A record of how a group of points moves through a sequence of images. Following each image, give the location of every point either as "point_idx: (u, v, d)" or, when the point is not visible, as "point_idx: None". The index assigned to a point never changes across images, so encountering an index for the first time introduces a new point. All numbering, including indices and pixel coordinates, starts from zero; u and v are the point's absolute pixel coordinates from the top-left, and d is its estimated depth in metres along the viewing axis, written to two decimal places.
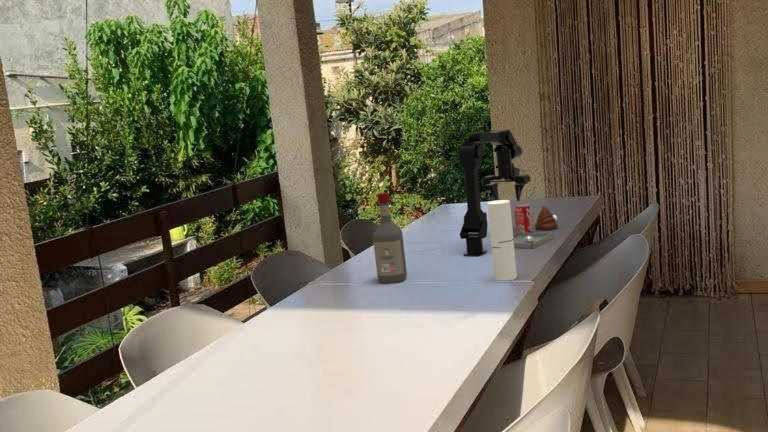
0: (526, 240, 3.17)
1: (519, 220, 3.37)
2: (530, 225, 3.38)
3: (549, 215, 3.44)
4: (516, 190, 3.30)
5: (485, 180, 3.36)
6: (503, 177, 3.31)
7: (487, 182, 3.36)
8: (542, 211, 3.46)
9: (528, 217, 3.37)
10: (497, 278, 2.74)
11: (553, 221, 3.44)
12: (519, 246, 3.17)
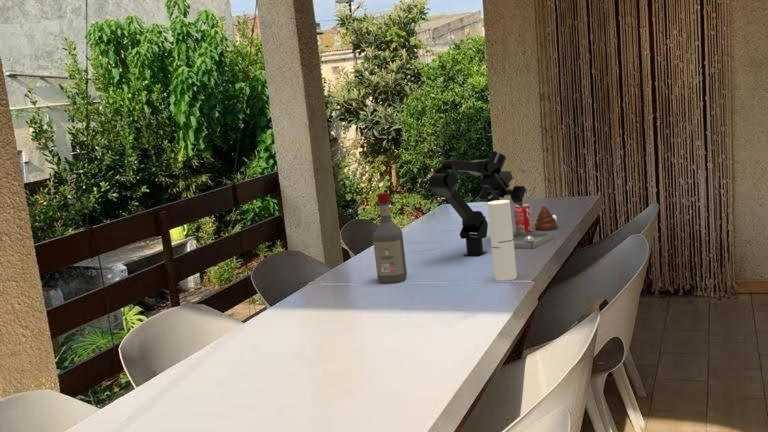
0: (526, 240, 3.17)
1: (519, 220, 3.37)
2: (530, 225, 3.38)
3: (549, 215, 3.44)
4: (516, 203, 3.26)
5: (483, 198, 3.32)
6: (499, 197, 3.26)
7: (485, 200, 3.31)
8: (542, 211, 3.46)
9: (528, 217, 3.37)
10: (497, 278, 2.74)
11: (553, 221, 3.44)
12: (519, 246, 3.17)
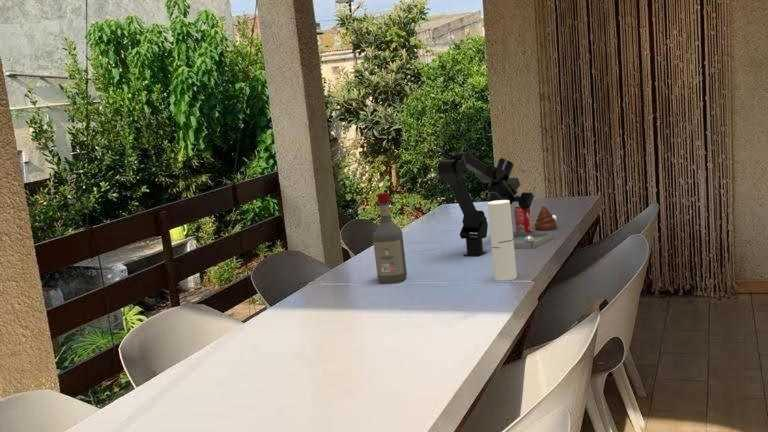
0: (526, 240, 3.17)
1: (519, 220, 3.37)
2: (530, 225, 3.38)
3: (548, 215, 3.45)
4: (524, 210, 3.30)
5: None
6: None
7: None
8: (541, 211, 3.46)
9: (528, 217, 3.37)
10: (497, 278, 2.74)
11: (552, 221, 3.44)
12: (519, 246, 3.17)
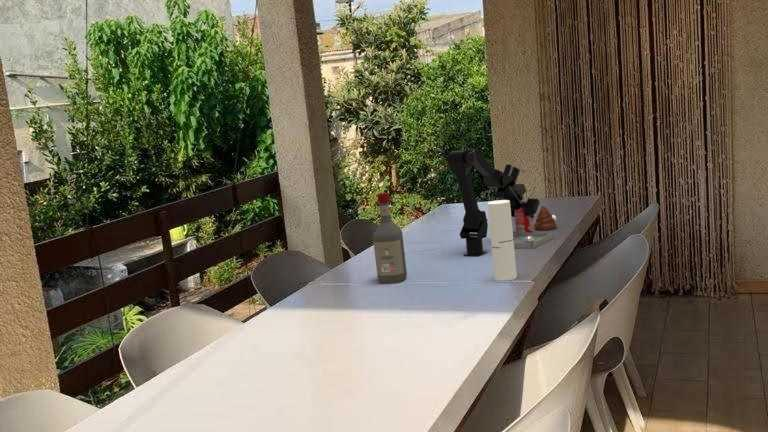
0: (526, 240, 3.17)
1: (519, 220, 3.37)
2: (530, 225, 3.38)
3: (548, 215, 3.45)
4: (528, 215, 3.34)
5: None
6: (513, 209, 3.33)
7: None
8: (541, 211, 3.46)
9: (528, 217, 3.37)
10: (497, 278, 2.74)
11: (552, 221, 3.44)
12: (519, 246, 3.17)
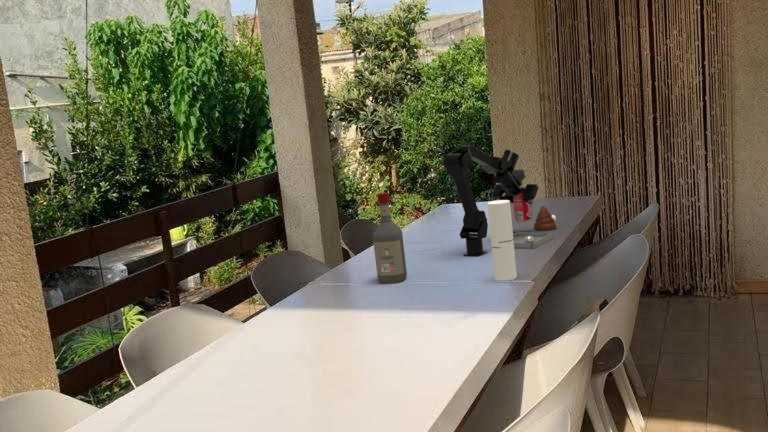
0: (526, 240, 3.17)
1: (518, 206, 3.36)
2: (529, 211, 3.37)
3: (548, 215, 3.45)
4: (526, 201, 3.33)
5: (495, 196, 3.38)
6: (512, 195, 3.32)
7: (498, 198, 3.38)
8: (541, 211, 3.46)
9: (527, 203, 3.36)
10: (497, 278, 2.74)
11: (552, 221, 3.44)
12: (519, 246, 3.17)
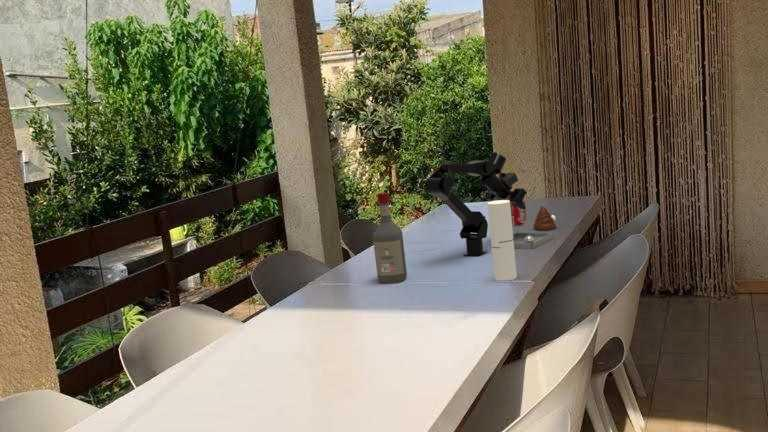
0: (526, 240, 3.17)
1: None
2: (521, 216, 3.26)
3: (547, 215, 3.45)
4: (516, 206, 3.23)
5: (488, 199, 3.30)
6: (500, 198, 3.23)
7: (491, 200, 3.30)
8: (540, 211, 3.46)
9: (518, 208, 3.25)
10: (497, 278, 2.74)
11: (551, 221, 3.44)
12: (519, 246, 3.17)
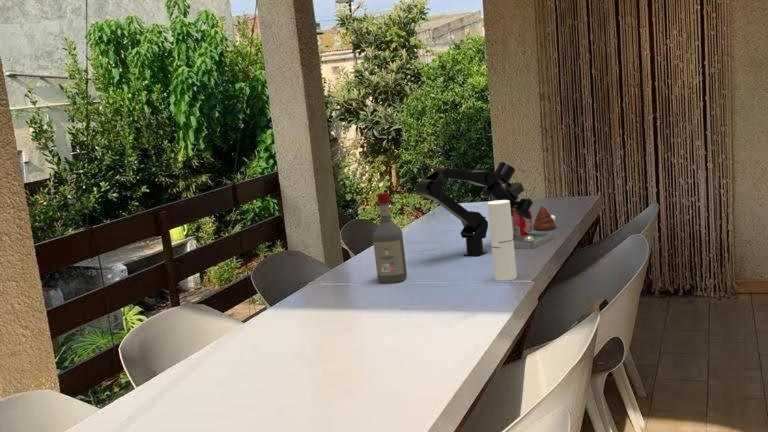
0: (526, 240, 3.17)
1: (515, 221, 3.24)
2: (527, 226, 3.23)
3: (547, 215, 3.45)
4: (522, 216, 3.20)
5: None
6: None
7: None
8: (540, 211, 3.46)
9: (524, 218, 3.23)
10: (497, 278, 2.74)
11: (551, 221, 3.44)
12: (519, 246, 3.17)
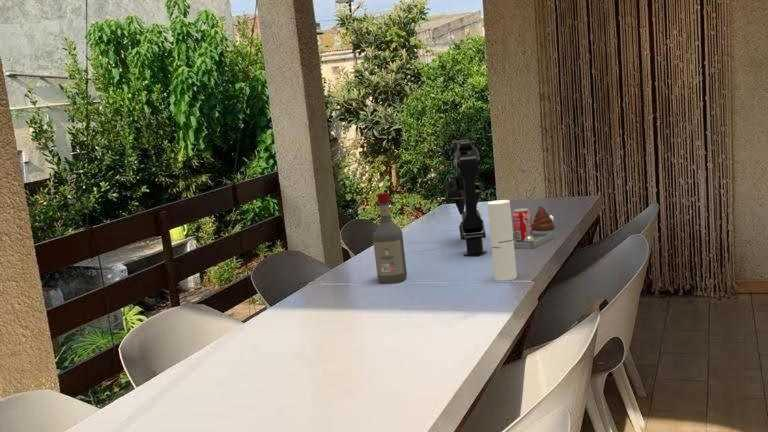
0: (526, 240, 3.17)
1: (516, 225, 3.24)
2: (527, 231, 3.24)
3: (546, 215, 3.45)
4: (478, 198, 3.33)
5: (462, 193, 3.22)
6: None
7: (463, 194, 3.22)
8: (539, 211, 3.46)
9: (525, 223, 3.23)
10: (497, 278, 2.74)
11: (550, 221, 3.45)
12: (519, 246, 3.17)
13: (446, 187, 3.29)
